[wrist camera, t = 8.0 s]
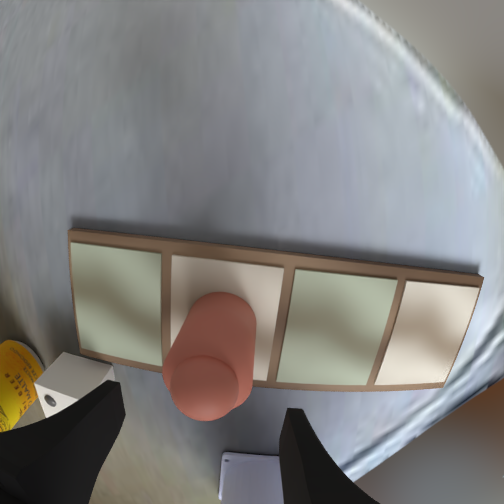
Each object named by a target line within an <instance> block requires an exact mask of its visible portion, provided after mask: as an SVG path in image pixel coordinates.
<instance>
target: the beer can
mask: <svg viewBox="0 0 504 504" xmlns="http://www.w3.org/2000/svg"><path fill="white" fill-rule="evenodd" d="M44 372H45V370H44V367H43V365H42V363H41V361H40V359H39V358H38V356H37V355H36V354H35V352H34V351H33V350H32V349H31V348H30V347H28V346H27V345H26V344H24V343H22V342H19V341H13V340H6V341H4V342H3V343H1V344H0V432H3V431H8V430H11V429H12V427H13V426H14V425H15V424H16V422H17V421H18V420H19V419H20V418H21V416H22V415H23V414H24V413H25V411H26V410H27V409H28V408H29V407H30V406H31V404H32V403H33V402H34V401H35V400H36V398H37V397H38V394H37V391H36V388H35V385H34V382H35V381H36V380H37V379H38V378H39V377H40V376H41V375H42V374H43V373H44Z"/></svg>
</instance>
